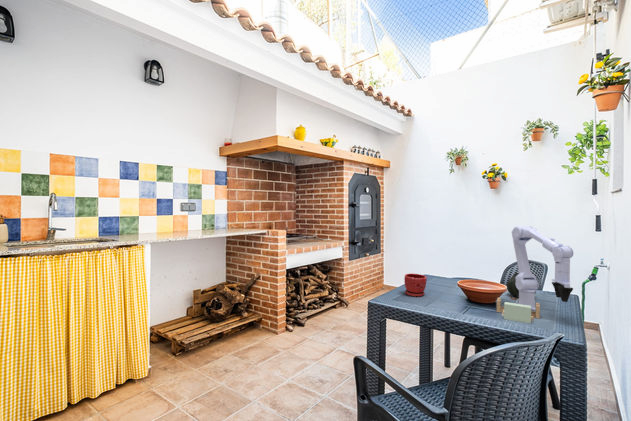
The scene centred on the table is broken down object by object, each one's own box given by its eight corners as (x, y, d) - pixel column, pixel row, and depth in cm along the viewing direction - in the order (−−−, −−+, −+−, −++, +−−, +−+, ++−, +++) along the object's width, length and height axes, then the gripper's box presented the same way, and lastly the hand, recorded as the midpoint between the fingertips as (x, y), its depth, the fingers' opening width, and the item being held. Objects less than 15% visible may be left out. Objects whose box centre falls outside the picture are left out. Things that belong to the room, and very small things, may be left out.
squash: (542, 292, 189) (533, 269, 199) (514, 292, 191) (506, 269, 201) (533, 303, 199) (525, 281, 209) (507, 302, 202) (500, 281, 212)
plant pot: (402, 296, 199) (403, 276, 198) (405, 291, 211) (405, 272, 210) (425, 298, 194) (425, 278, 193) (427, 293, 206) (427, 274, 205)
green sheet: (504, 316, 163) (504, 301, 163) (530, 321, 157) (531, 305, 157) (504, 319, 160) (504, 303, 160) (530, 323, 154) (531, 307, 154)
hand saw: (482, 290, 214) (482, 289, 214) (487, 290, 216) (487, 289, 216) (514, 301, 191) (514, 299, 191) (520, 300, 193) (520, 299, 193)
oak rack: (497, 308, 176) (497, 297, 176) (539, 314, 166) (539, 303, 166) (496, 311, 170) (496, 300, 170) (539, 318, 160) (539, 306, 160)
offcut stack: (503, 314, 168) (503, 309, 168) (533, 320, 160) (533, 314, 160) (501, 316, 165) (501, 311, 165) (532, 322, 157) (532, 316, 157)
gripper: (547, 268, 165) (547, 294, 166) (557, 273, 152) (556, 302, 152) (564, 269, 163) (564, 296, 163) (575, 274, 149) (575, 304, 150)
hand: (561, 299), depth 158 cm, fingers open, 7 cm apart
